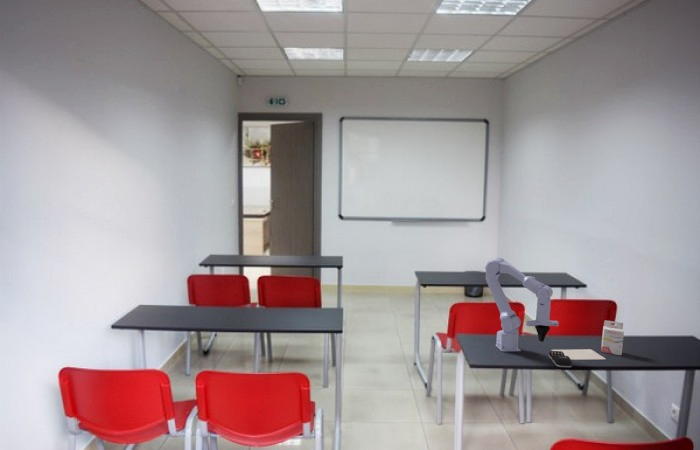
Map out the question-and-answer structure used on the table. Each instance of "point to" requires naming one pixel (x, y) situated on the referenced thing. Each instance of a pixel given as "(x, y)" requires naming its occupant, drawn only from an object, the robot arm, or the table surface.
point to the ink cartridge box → (612, 338)
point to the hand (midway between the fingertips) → (541, 340)
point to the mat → (582, 354)
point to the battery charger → (560, 359)
